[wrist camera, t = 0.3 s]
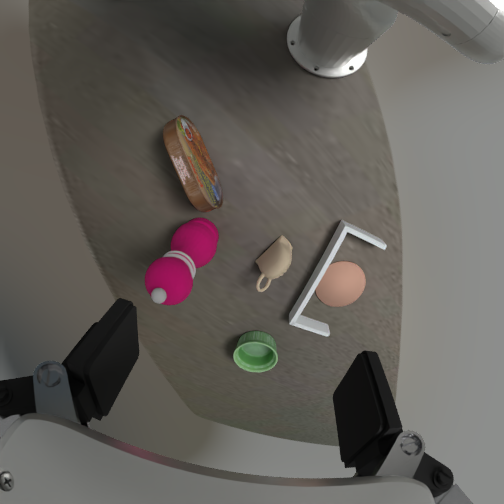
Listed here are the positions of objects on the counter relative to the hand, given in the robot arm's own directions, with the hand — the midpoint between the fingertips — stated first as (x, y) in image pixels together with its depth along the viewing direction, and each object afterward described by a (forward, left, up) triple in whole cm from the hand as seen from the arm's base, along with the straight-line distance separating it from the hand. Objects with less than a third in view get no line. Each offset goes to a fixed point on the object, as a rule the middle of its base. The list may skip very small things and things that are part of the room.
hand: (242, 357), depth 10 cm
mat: (+11, +19, -35) cm, 41 cm away
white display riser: (+11, +17, -35) cm, 41 cm away
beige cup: (+11, +5, -35) cm, 37 cm away
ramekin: (+31, +10, -36) cm, 48 cm away
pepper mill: (+12, -8, -35) cm, 38 cm away
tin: (0, -12, -35) cm, 37 cm away
